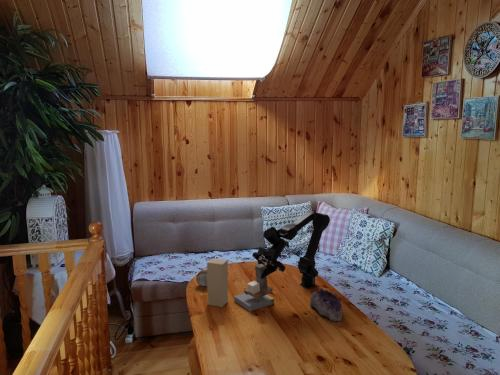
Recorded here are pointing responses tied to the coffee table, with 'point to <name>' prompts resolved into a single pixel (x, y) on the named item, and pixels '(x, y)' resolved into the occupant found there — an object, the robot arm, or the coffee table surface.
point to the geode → (327, 305)
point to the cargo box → (253, 287)
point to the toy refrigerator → (217, 282)
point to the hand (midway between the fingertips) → (258, 276)
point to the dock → (253, 301)
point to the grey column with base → (263, 283)
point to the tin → (202, 278)
